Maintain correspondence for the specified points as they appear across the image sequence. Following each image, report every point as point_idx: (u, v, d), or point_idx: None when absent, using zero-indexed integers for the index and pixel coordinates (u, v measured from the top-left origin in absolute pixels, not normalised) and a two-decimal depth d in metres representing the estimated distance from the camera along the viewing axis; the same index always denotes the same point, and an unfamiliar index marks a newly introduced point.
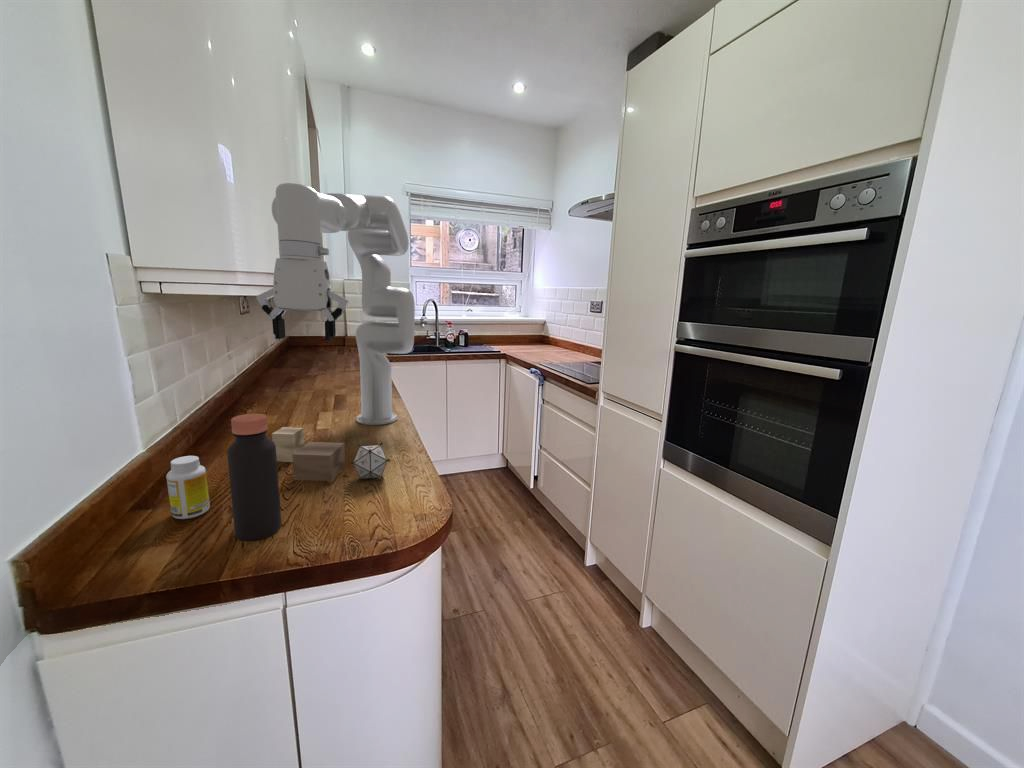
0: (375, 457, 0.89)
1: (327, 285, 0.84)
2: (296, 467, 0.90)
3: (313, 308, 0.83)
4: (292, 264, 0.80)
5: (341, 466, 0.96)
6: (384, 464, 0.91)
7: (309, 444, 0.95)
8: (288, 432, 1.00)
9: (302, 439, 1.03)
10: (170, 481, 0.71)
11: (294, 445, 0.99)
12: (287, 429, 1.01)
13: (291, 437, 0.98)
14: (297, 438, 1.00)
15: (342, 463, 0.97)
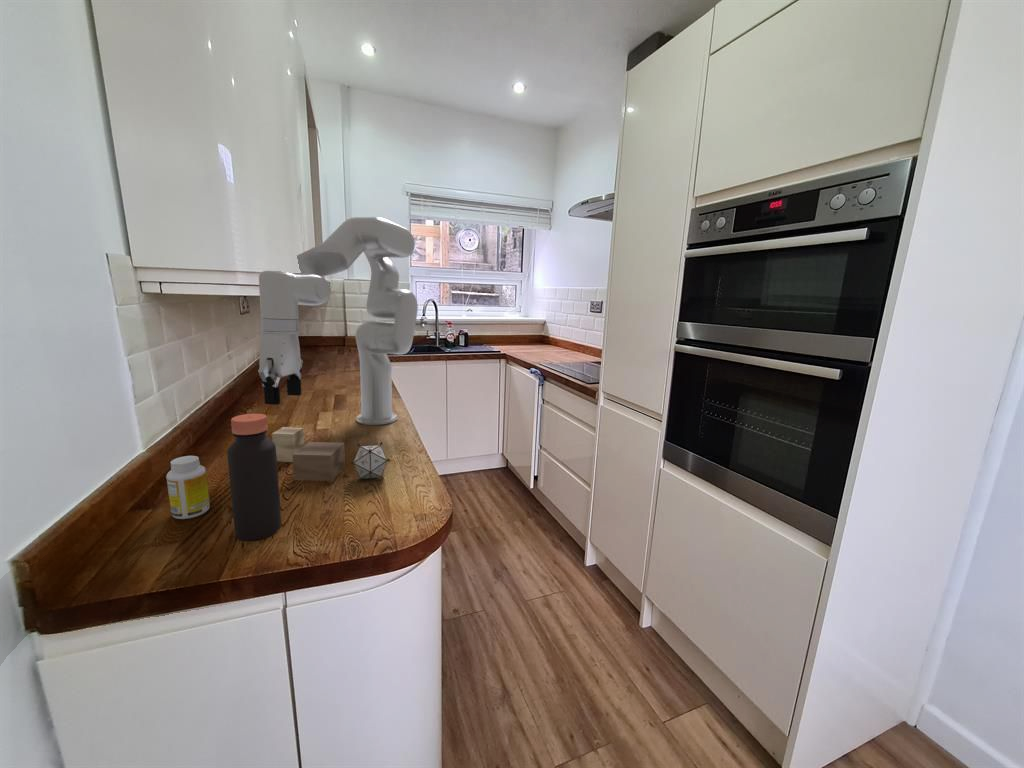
0: (375, 457, 0.89)
1: None
2: (296, 467, 0.90)
3: (297, 371, 1.00)
4: (290, 338, 0.95)
5: (341, 466, 0.96)
6: (384, 464, 0.91)
7: (309, 444, 0.95)
8: (288, 432, 1.00)
9: (302, 439, 1.03)
10: (170, 481, 0.71)
11: (294, 445, 0.99)
12: (288, 429, 1.01)
13: (291, 437, 0.98)
14: (297, 438, 1.00)
15: (342, 462, 0.97)
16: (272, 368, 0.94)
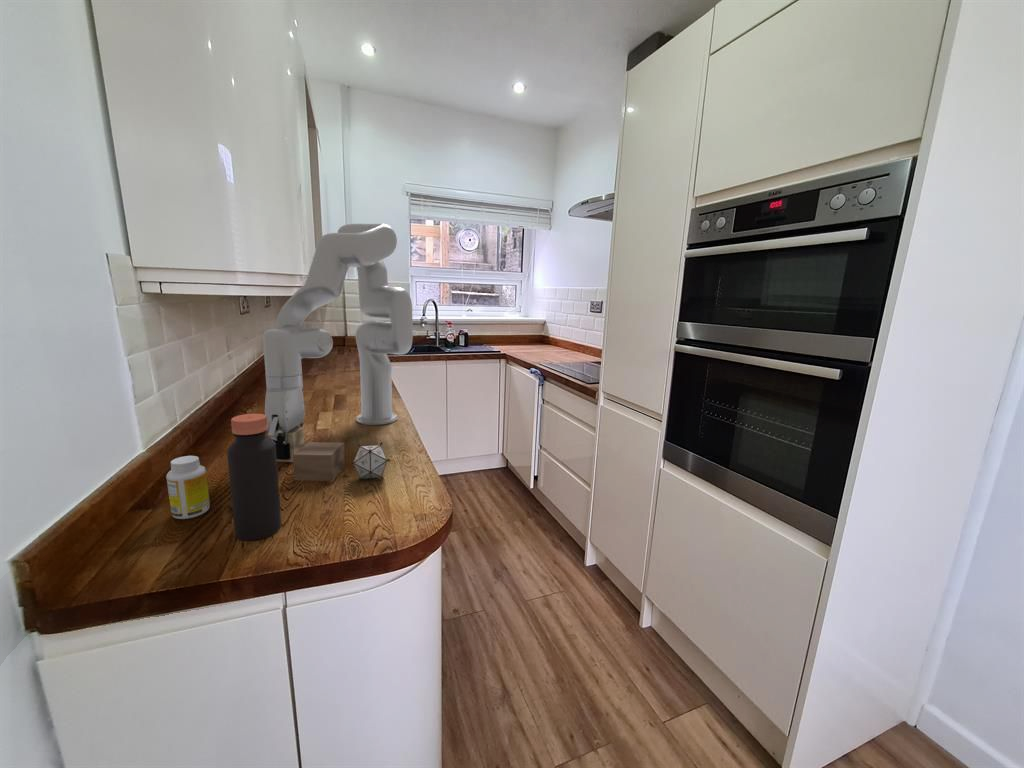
0: (375, 457, 0.89)
1: None
2: (296, 467, 0.90)
3: (301, 422, 1.03)
4: (294, 393, 0.98)
5: (341, 466, 0.96)
6: (384, 464, 0.91)
7: (308, 444, 0.95)
8: None
9: (302, 439, 1.03)
10: (170, 481, 0.71)
11: (294, 445, 0.99)
12: None
13: (291, 437, 0.98)
14: (297, 437, 1.00)
15: (342, 462, 0.97)
16: None
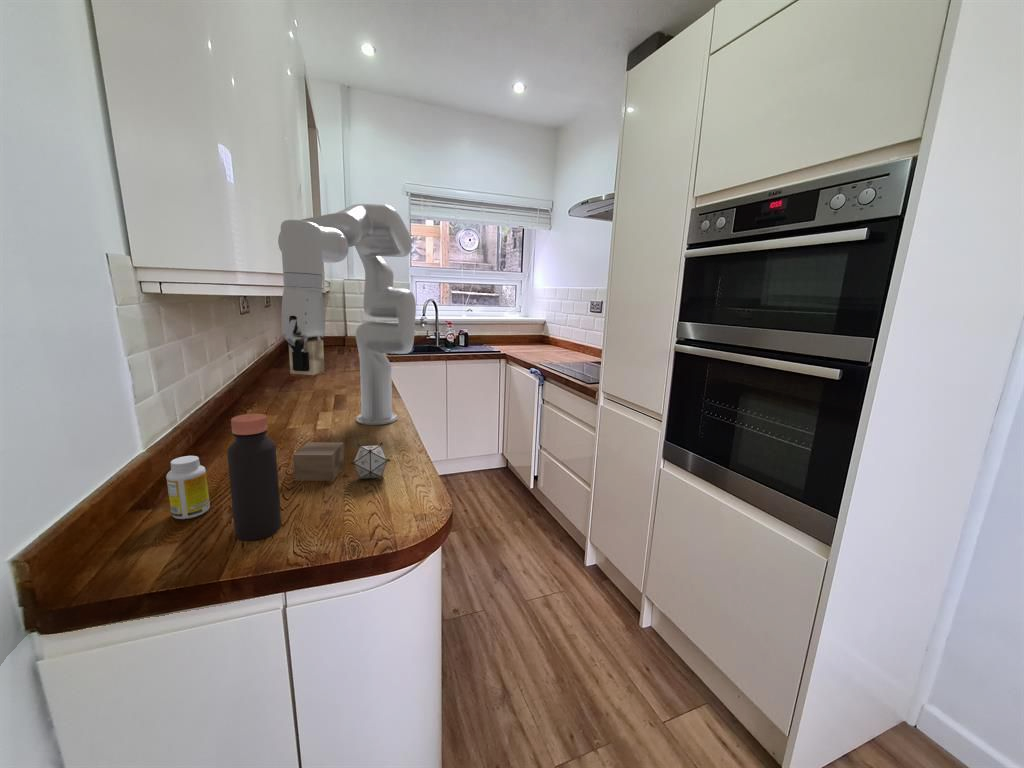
0: (375, 457, 0.89)
1: None
2: (297, 468, 0.90)
3: (321, 334, 0.92)
4: (314, 296, 0.87)
5: (341, 466, 0.96)
6: (384, 464, 0.91)
7: (308, 444, 0.95)
8: None
9: (322, 352, 0.92)
10: (170, 481, 0.71)
11: (313, 355, 0.88)
12: None
13: (310, 346, 0.87)
14: (316, 348, 0.89)
15: (342, 462, 0.97)
16: None
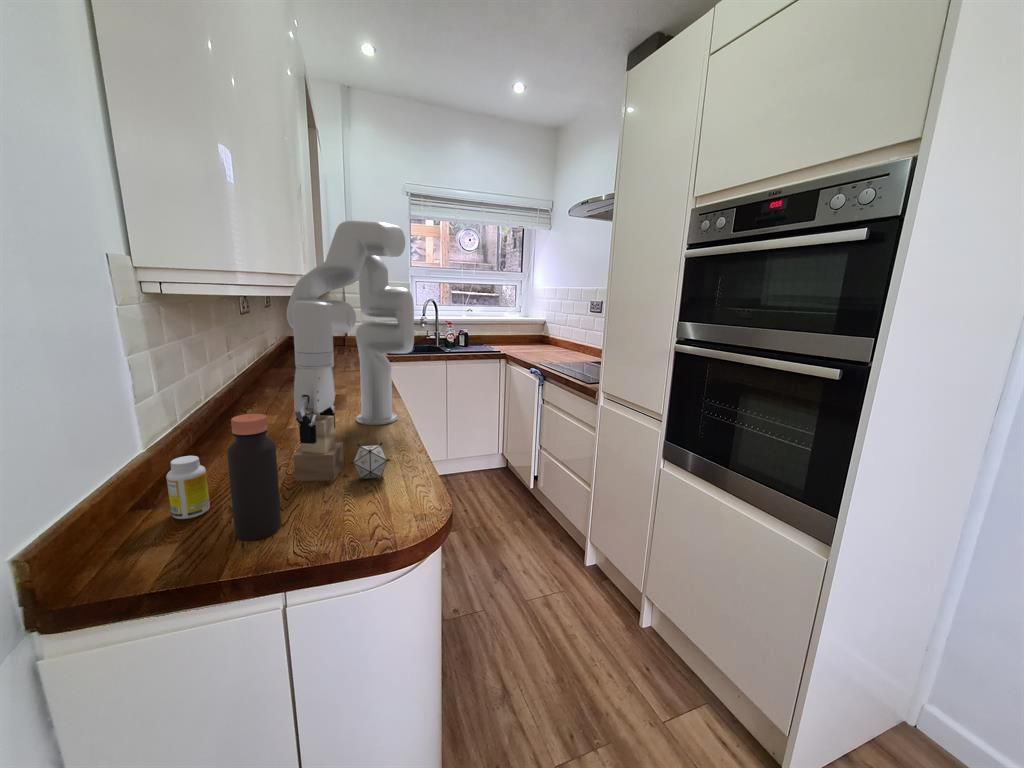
0: (374, 457, 0.89)
1: None
2: (297, 468, 0.89)
3: (331, 405, 0.94)
4: (325, 372, 0.89)
5: (341, 466, 0.97)
6: (384, 464, 0.91)
7: None
8: (317, 420, 0.91)
9: (332, 428, 0.94)
10: (170, 481, 0.71)
11: (325, 434, 0.90)
12: (317, 417, 0.92)
13: (322, 426, 0.89)
14: (327, 426, 0.91)
15: (341, 462, 0.97)
16: (307, 405, 0.88)
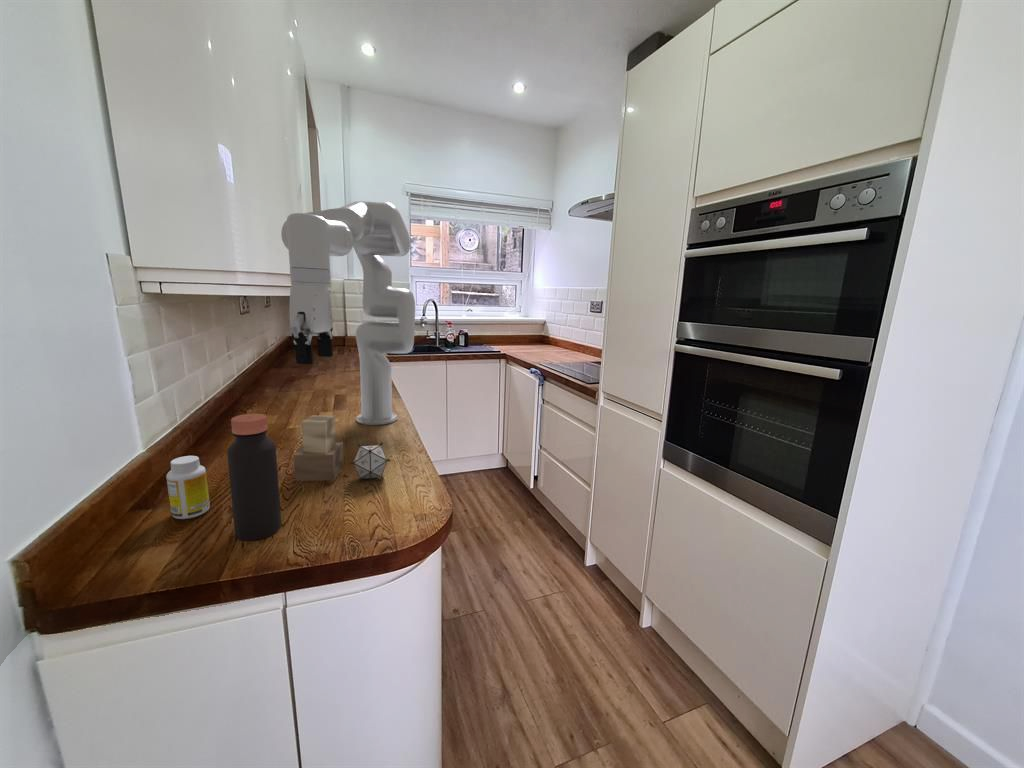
0: (375, 457, 0.89)
1: None
2: (297, 468, 0.89)
3: (328, 329, 0.91)
4: (322, 291, 0.86)
5: (341, 465, 0.97)
6: (384, 464, 0.91)
7: None
8: (318, 420, 0.91)
9: (333, 428, 0.94)
10: (170, 481, 0.71)
11: (326, 434, 0.90)
12: (318, 417, 0.92)
13: (323, 426, 0.89)
14: (328, 426, 0.91)
15: (341, 462, 0.97)
16: (303, 324, 0.85)
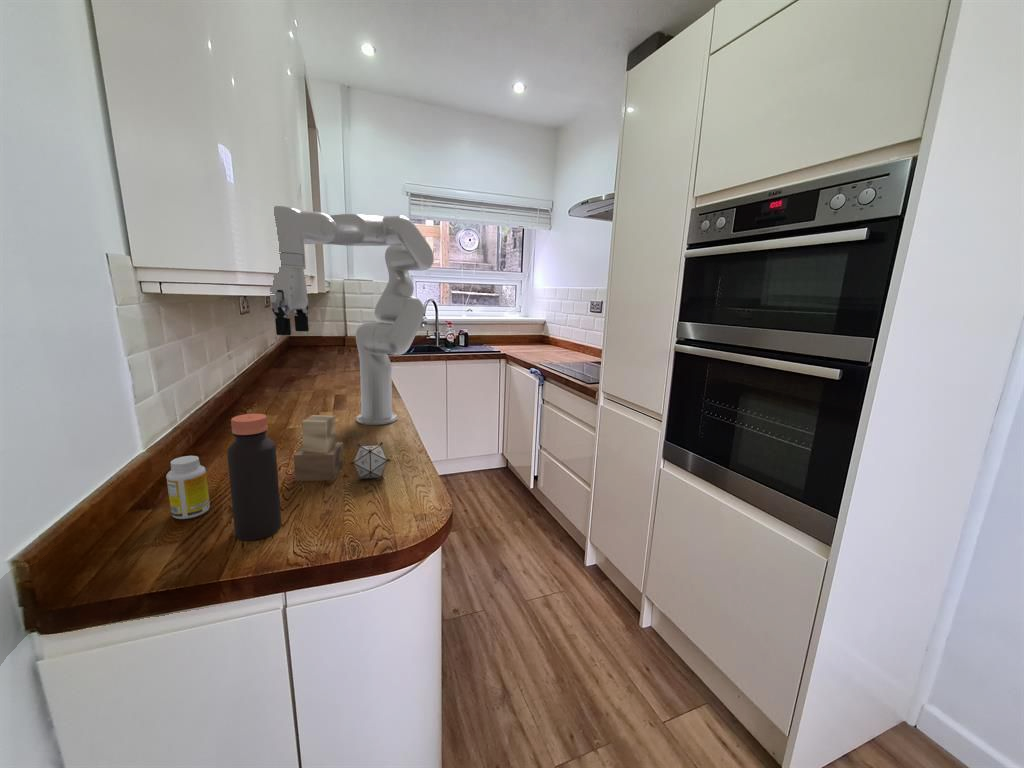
0: (375, 457, 0.89)
1: None
2: (297, 468, 0.89)
3: (304, 307, 1.05)
4: (298, 273, 1.00)
5: (341, 466, 0.97)
6: (384, 464, 0.91)
7: None
8: (319, 419, 0.91)
9: (333, 428, 0.94)
10: (170, 481, 0.71)
11: (326, 434, 0.90)
12: (318, 417, 0.93)
13: (323, 426, 0.90)
14: (329, 426, 0.92)
15: (341, 462, 0.97)
16: (282, 301, 0.99)
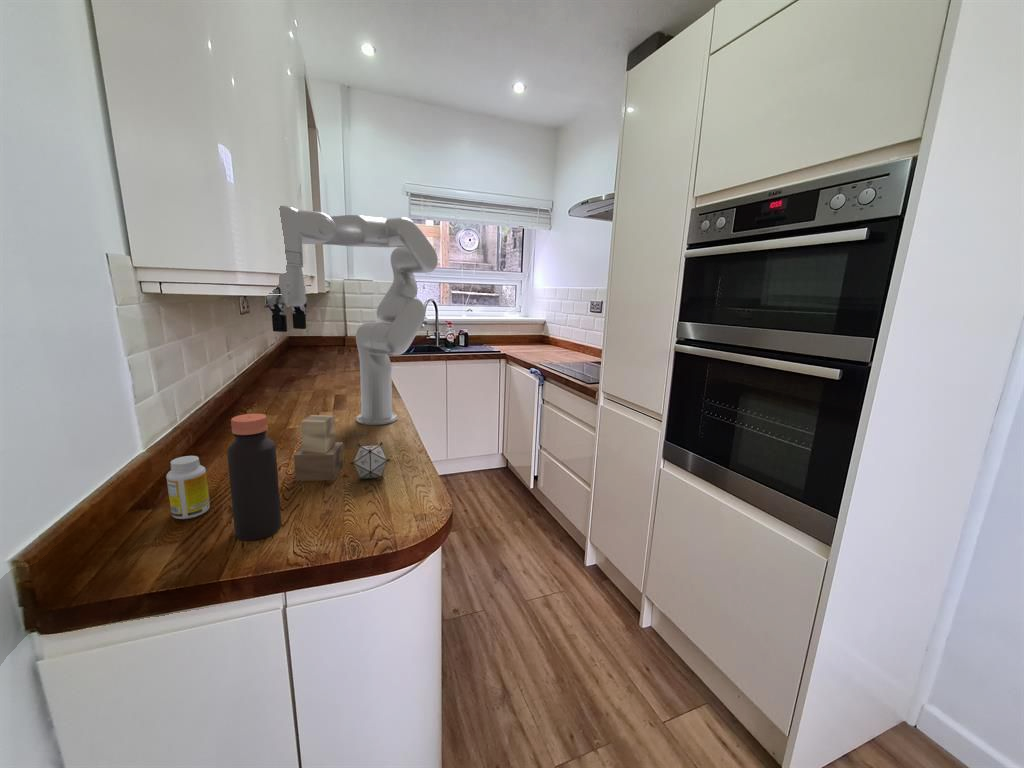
0: (375, 457, 0.89)
1: None
2: (297, 468, 0.89)
3: (302, 304, 1.07)
4: (295, 271, 1.02)
5: (341, 466, 0.97)
6: (384, 464, 0.91)
7: None
8: (318, 419, 0.91)
9: (333, 428, 0.94)
10: (170, 481, 0.71)
11: (325, 434, 0.90)
12: (317, 417, 0.93)
13: (322, 426, 0.90)
14: (328, 426, 0.92)
15: (341, 462, 0.97)
16: (279, 298, 1.01)
